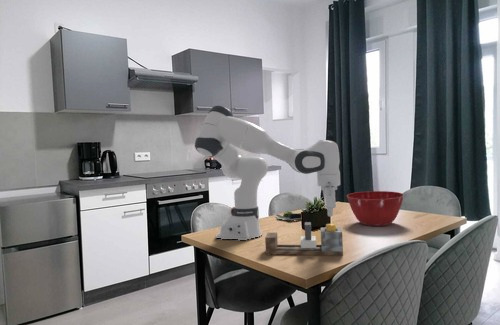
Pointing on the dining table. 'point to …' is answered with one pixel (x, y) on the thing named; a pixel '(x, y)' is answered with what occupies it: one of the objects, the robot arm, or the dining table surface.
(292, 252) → the rail base
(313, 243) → the carriage
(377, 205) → the mixing bowl
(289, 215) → the salad plate
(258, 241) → the dining table surface
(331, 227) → the gauge button
